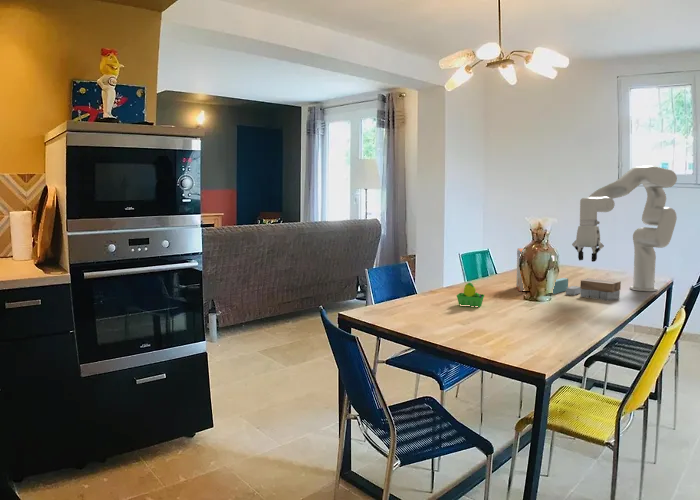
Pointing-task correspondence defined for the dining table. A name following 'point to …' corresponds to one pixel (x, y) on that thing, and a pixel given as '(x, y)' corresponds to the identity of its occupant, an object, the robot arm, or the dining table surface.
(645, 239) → the robot arm
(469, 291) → the fruit basket
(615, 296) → the bar
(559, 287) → the block
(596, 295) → the bar
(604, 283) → the board
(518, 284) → the cracker box
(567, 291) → the bar
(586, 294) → the bar
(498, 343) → the dining table surface
